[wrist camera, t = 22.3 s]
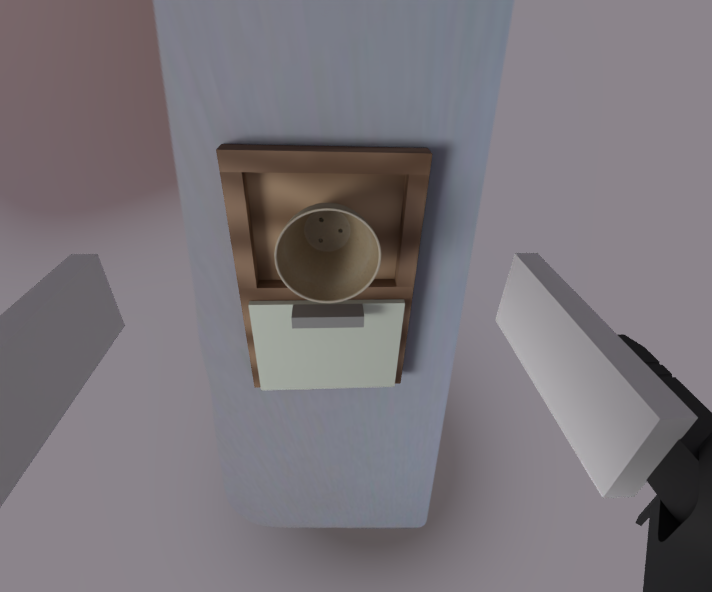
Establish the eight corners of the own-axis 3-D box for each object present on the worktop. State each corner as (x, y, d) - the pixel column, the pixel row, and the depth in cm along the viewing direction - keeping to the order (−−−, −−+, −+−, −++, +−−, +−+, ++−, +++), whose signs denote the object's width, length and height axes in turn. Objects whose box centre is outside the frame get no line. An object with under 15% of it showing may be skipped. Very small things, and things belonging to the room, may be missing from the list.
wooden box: (221, 144, 37) (216, 149, 35) (427, 147, 38) (432, 153, 37) (257, 375, 54) (254, 387, 52) (397, 371, 56) (400, 383, 54)
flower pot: (377, 261, 45) (386, 295, 39) (292, 273, 45) (288, 310, 39) (367, 175, 39) (375, 200, 33) (270, 190, 39) (261, 218, 33)
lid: (249, 301, 44) (244, 318, 42) (403, 299, 46) (408, 316, 43) (261, 386, 52) (258, 405, 49) (393, 382, 54) (397, 400, 51)
